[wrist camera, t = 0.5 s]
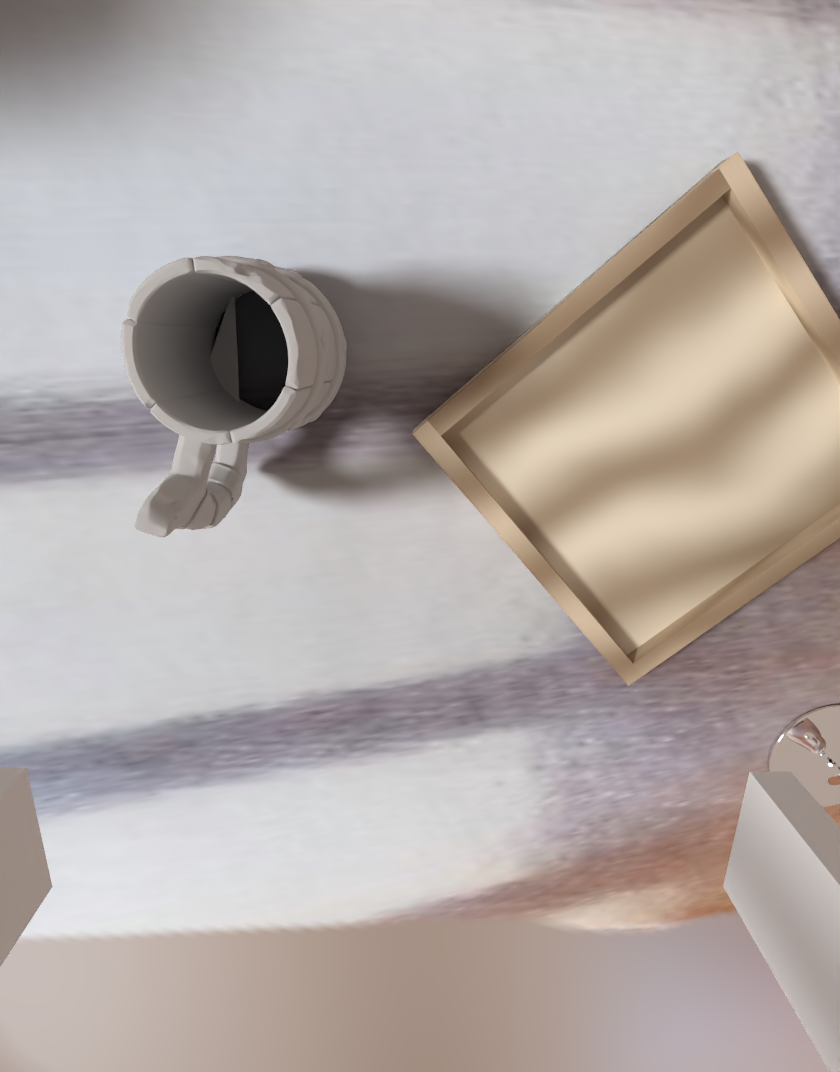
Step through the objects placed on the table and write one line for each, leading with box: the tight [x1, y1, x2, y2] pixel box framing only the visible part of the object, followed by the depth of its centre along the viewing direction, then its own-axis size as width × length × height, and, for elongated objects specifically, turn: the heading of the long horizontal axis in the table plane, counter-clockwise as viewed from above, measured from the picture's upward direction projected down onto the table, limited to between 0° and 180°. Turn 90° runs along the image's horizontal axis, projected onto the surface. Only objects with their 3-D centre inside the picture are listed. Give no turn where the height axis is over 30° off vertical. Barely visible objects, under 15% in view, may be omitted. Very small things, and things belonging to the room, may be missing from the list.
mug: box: [121, 256, 347, 537], centre depth 25 cm, size 8×12×12 cm, turn 161°
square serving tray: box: [412, 152, 840, 686], centre depth 31 cm, size 19×19×2 cm
